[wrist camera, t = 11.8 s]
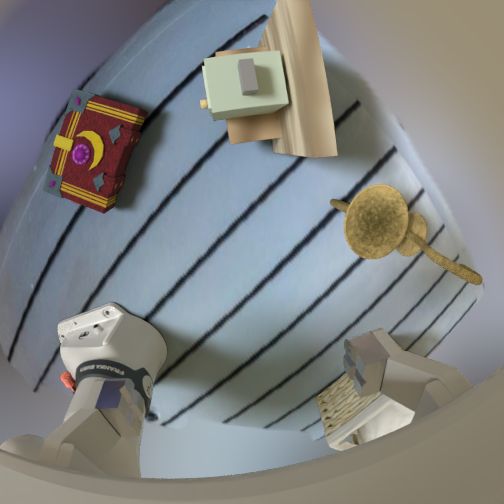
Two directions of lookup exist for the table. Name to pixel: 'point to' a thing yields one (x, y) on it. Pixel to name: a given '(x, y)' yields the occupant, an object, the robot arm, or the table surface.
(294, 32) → the wall board
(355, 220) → the wall sconce
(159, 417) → the table surface
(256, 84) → the sage cabinet
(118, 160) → the decorative book
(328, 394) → the storage basket
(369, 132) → the table surface
